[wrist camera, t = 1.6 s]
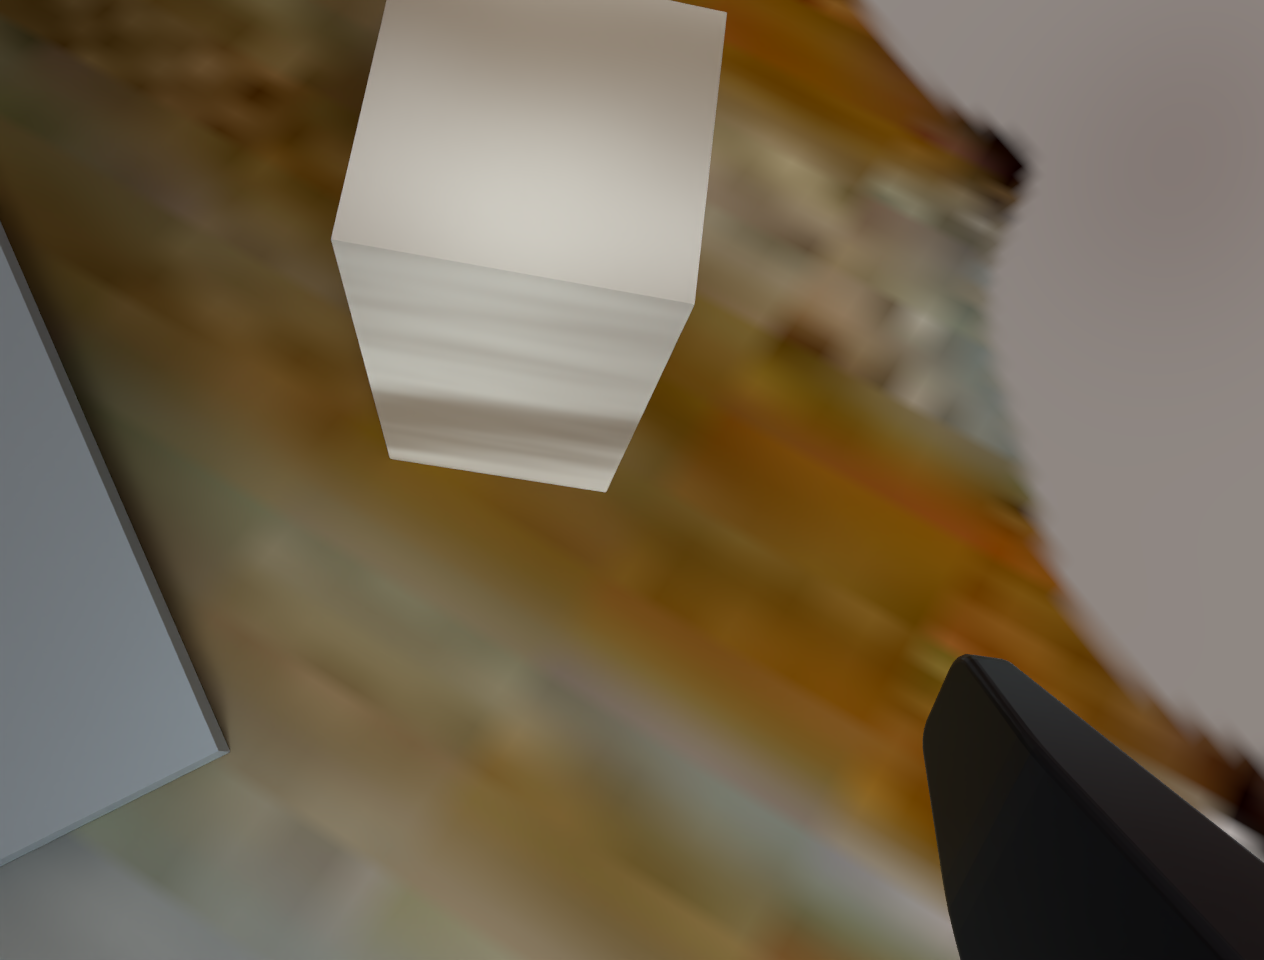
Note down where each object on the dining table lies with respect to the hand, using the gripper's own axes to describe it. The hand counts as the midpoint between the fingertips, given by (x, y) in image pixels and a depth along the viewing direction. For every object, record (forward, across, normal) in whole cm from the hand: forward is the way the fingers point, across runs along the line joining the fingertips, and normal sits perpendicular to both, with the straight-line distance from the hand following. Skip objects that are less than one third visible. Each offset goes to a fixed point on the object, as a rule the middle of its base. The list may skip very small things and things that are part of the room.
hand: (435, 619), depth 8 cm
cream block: (+15, 0, +5) cm, 16 cm away
